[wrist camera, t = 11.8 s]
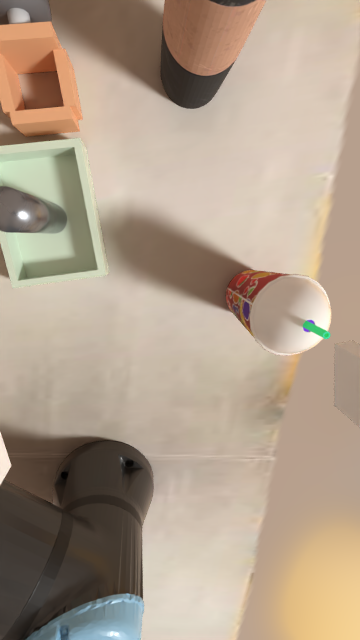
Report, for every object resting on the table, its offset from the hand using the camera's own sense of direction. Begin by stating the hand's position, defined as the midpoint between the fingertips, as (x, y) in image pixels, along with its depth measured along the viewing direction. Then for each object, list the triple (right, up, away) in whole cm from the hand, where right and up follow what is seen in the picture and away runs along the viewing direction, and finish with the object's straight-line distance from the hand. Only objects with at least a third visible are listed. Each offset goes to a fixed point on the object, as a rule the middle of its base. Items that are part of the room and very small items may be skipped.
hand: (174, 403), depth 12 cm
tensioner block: (-15, +30, +23) cm, 41 cm away
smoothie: (+10, +7, +33) cm, 35 cm away
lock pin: (-16, +16, +26) cm, 34 cm away
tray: (-16, +16, +27) cm, 35 cm away
